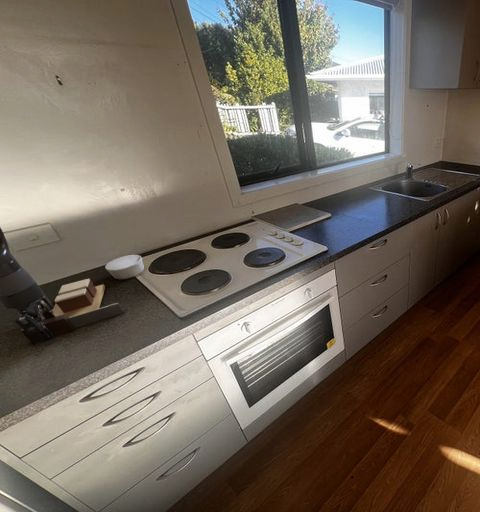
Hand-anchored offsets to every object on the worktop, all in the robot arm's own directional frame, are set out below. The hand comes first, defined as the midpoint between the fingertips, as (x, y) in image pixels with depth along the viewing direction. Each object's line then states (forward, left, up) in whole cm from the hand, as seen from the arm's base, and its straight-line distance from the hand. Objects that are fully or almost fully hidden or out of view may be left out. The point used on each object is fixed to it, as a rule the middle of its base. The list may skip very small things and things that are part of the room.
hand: (52, 331), depth 85 cm
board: (+3, +13, -1) cm, 14 cm away
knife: (+6, 0, -1) cm, 6 cm away
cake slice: (+4, +11, 0) cm, 12 cm away
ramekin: (+16, +28, -1) cm, 33 cm away
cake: (+4, +16, 0) cm, 17 cm away
